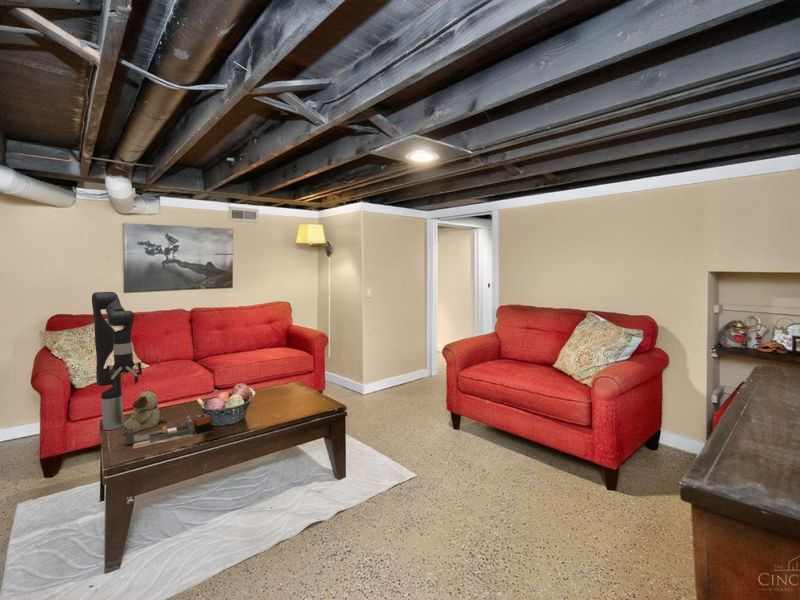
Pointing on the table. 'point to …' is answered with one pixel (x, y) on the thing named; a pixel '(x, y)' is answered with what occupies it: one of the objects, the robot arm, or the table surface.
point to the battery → (202, 423)
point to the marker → (171, 430)
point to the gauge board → (167, 435)
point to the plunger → (142, 435)
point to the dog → (145, 412)
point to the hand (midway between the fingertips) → (125, 384)
